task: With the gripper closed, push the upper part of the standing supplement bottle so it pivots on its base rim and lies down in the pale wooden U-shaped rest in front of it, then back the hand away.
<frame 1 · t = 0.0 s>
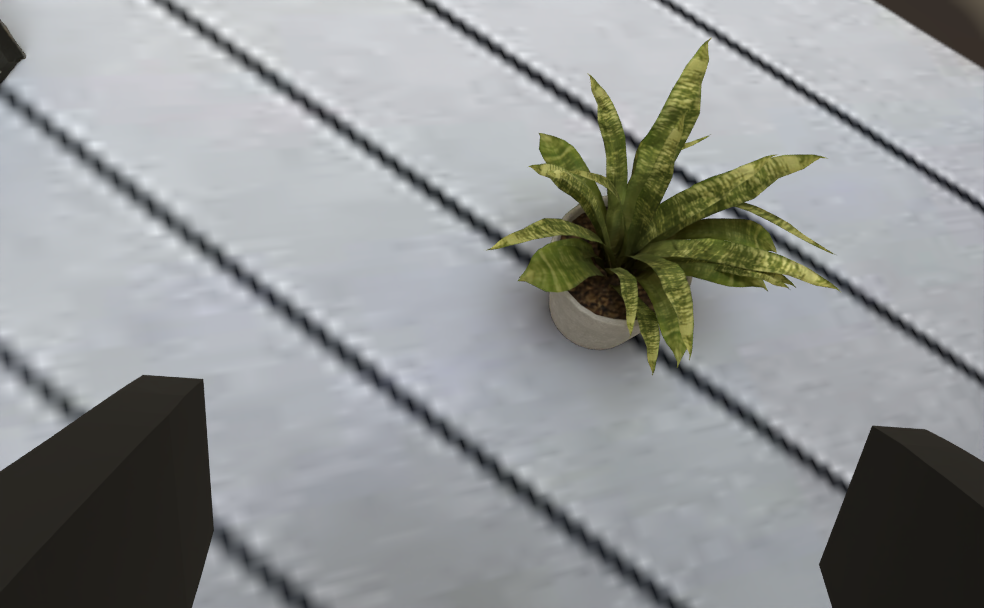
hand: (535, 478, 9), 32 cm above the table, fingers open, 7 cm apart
house plant: (582, 326, 45), on the table
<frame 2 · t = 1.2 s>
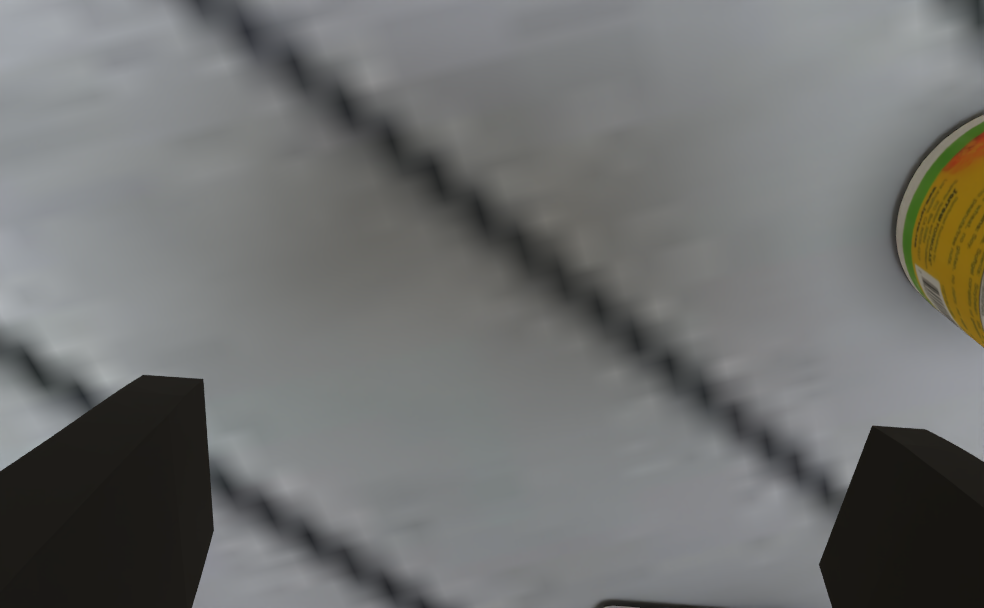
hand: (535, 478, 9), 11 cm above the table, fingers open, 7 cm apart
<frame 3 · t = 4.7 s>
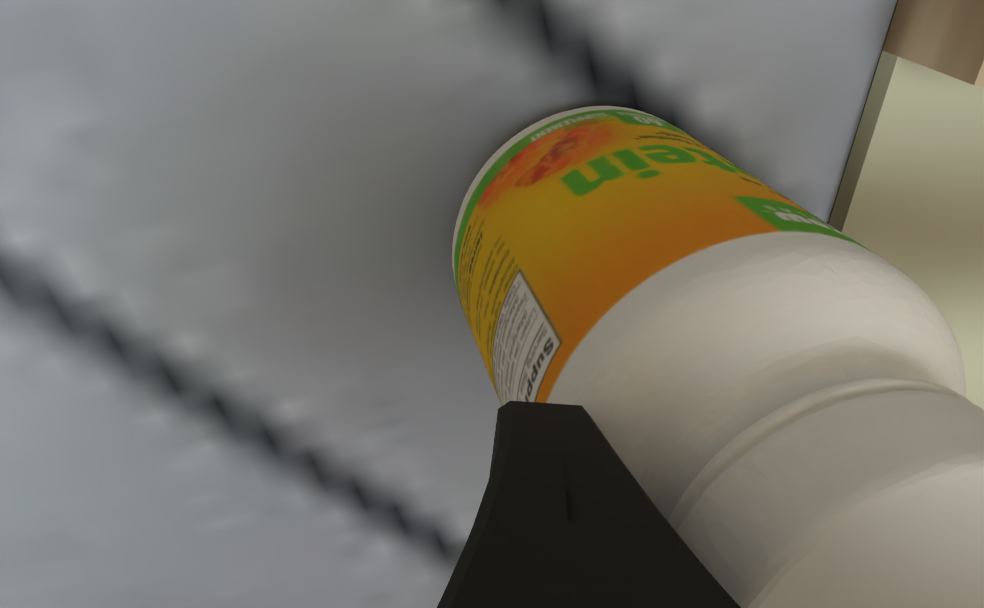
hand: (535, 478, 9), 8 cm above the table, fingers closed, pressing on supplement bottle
supplement bottle: (580, 234, 16), on the table, touching gripper
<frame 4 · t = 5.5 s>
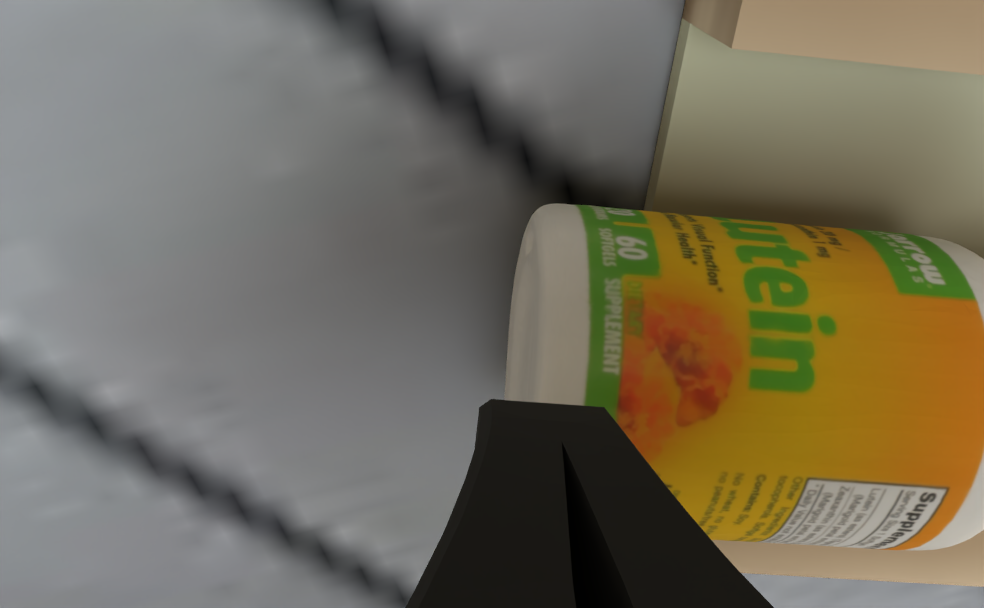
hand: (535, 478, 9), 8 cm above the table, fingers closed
supplement bottle: (505, 360, 14), point 3 cm above the table, touching u rest
u rest: (928, 254, 17), on the table
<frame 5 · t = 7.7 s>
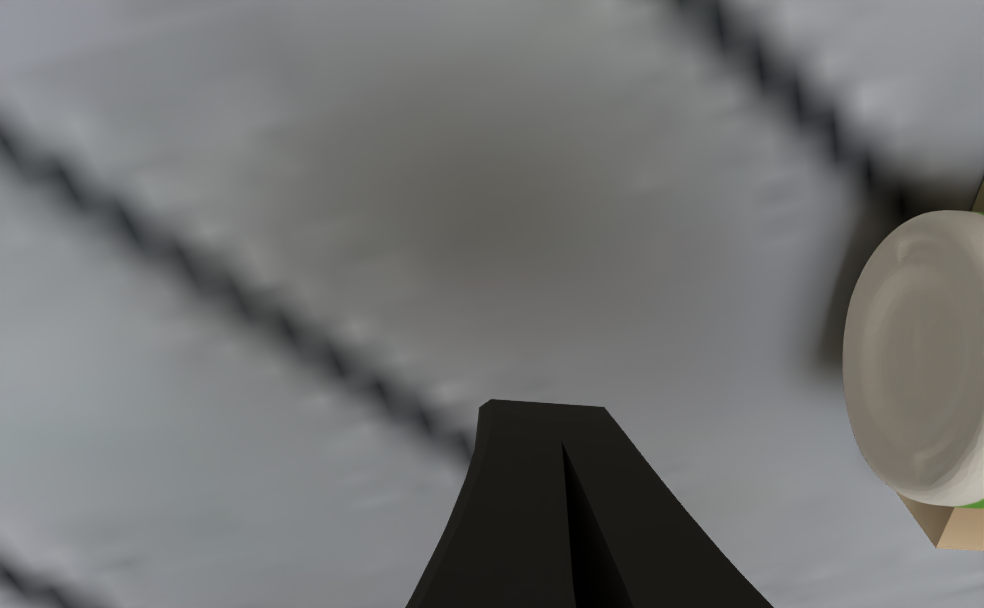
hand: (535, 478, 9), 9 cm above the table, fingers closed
supplement bottle: (895, 353, 15), point 3 cm above the table, touching u rest
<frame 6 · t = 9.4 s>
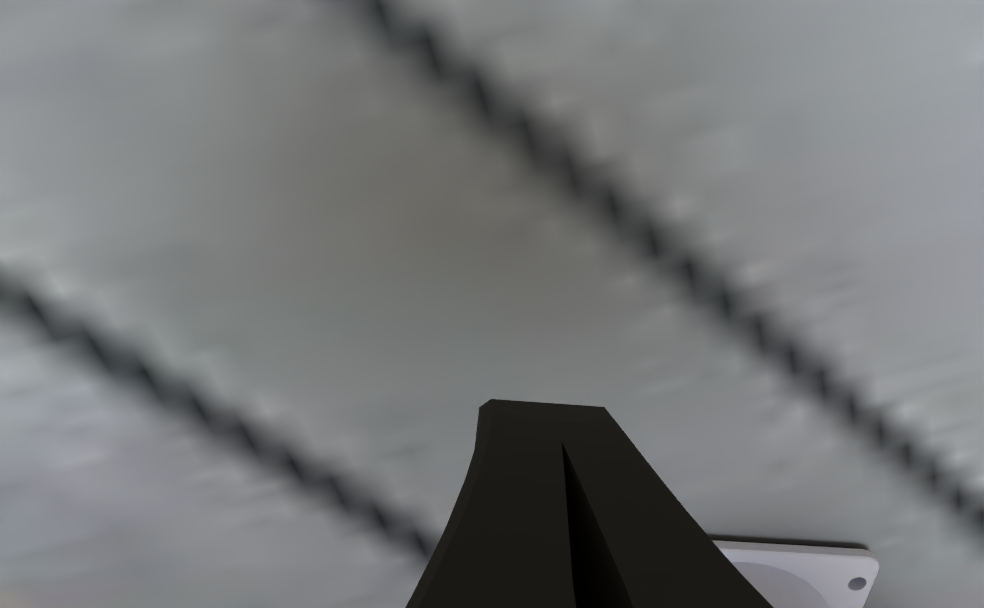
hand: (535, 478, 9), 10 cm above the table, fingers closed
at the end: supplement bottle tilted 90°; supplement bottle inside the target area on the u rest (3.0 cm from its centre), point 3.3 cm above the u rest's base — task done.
